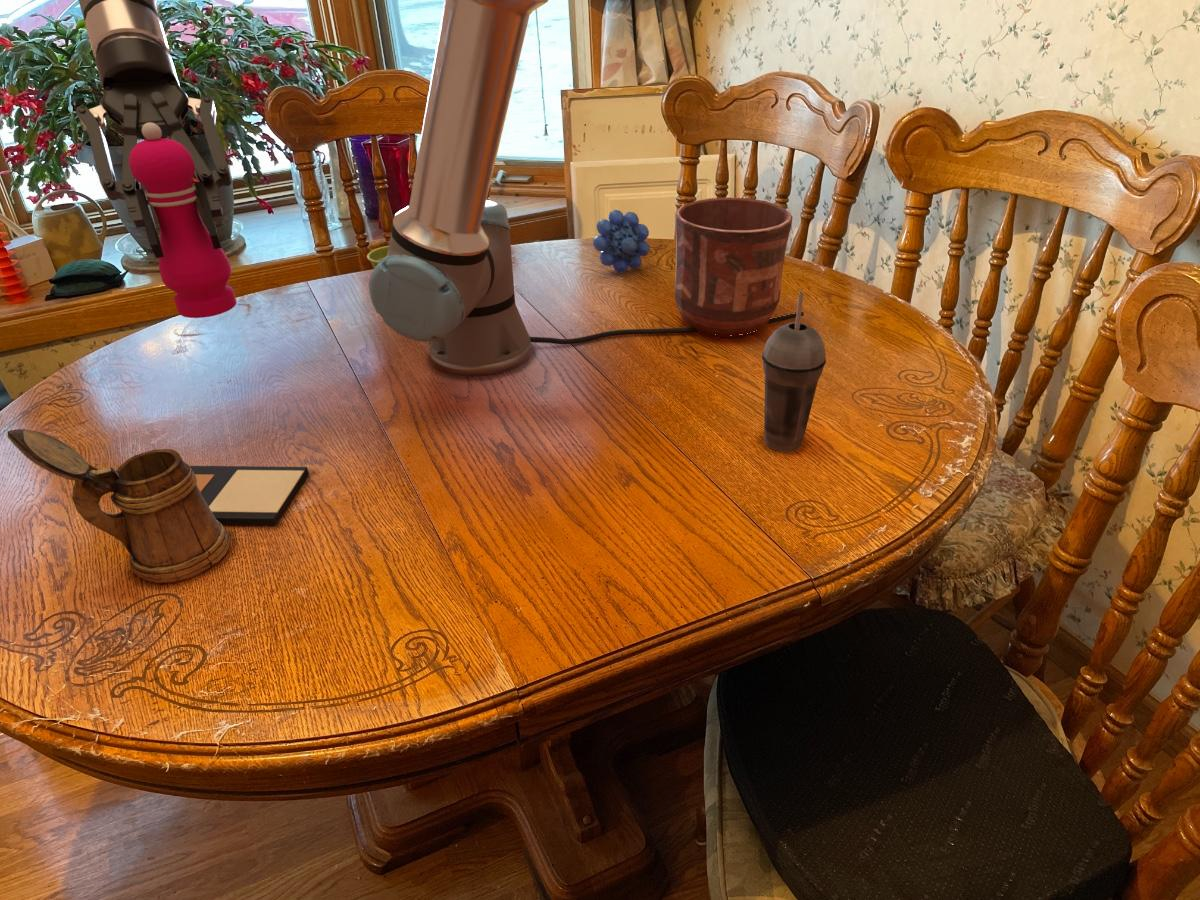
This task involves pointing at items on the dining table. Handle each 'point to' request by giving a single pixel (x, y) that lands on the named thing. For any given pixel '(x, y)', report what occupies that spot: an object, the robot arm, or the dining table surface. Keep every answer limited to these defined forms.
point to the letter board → (248, 492)
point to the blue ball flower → (621, 241)
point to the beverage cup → (790, 381)
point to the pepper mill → (181, 227)
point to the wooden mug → (139, 506)
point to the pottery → (729, 264)
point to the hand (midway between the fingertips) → (186, 246)
